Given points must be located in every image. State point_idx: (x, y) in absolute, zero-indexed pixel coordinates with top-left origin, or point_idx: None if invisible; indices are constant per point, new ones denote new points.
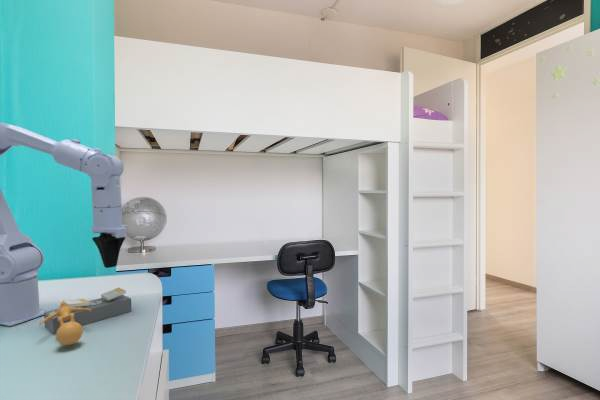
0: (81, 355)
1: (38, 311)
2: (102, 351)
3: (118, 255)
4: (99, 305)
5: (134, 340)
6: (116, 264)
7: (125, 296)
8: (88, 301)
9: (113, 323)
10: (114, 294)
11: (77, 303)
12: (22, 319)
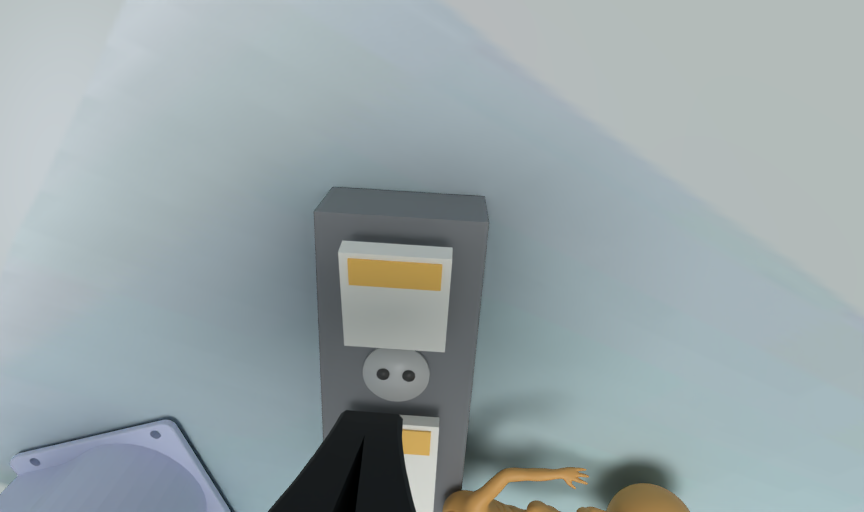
0: (739, 492)
1: (159, 459)
2: (785, 452)
3: (407, 489)
4: (454, 374)
5: (830, 359)
6: (399, 424)
7: (417, 223)
8: (431, 433)
9: (565, 323)
10: (443, 317)
11: (435, 479)
12: (209, 504)
